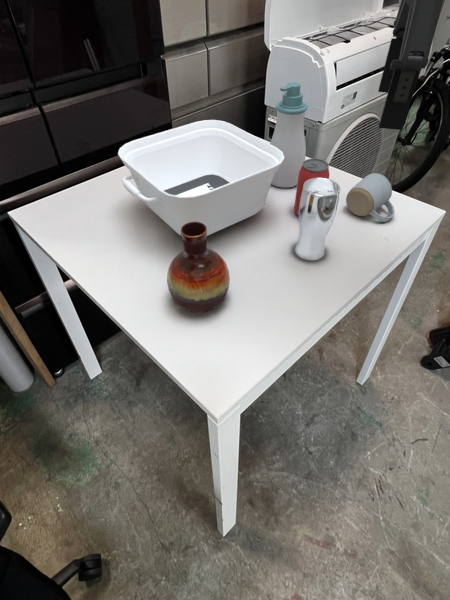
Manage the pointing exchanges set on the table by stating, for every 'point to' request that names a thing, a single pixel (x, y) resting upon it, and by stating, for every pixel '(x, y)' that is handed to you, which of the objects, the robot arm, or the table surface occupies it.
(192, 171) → the white wash basin
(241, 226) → the table surface
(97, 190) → the table surface
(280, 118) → the soap bottle
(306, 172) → the beer can
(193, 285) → the vase
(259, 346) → the table surface
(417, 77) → the robot arm
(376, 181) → the ceramic mug
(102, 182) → the table surface
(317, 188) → the beer glass
